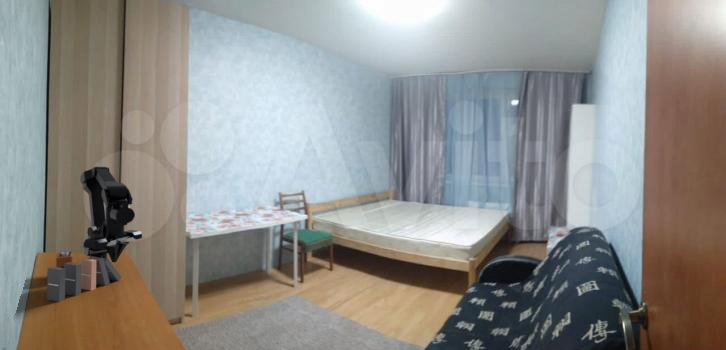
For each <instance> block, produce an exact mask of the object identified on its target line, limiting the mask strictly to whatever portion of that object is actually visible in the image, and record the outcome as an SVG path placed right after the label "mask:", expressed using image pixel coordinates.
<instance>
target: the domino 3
mask: <svg viewBox="0 0 726 350" xmlns="http://www.w3.org/2000/svg"><path fill="white" fill-rule="evenodd" d="M79 260H80V261H79V264H81V290H87V291H94V290H96V289H97V284H96V260H93V259H88V257H87V258H86V257H85V258H80V259H79Z"/></svg>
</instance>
